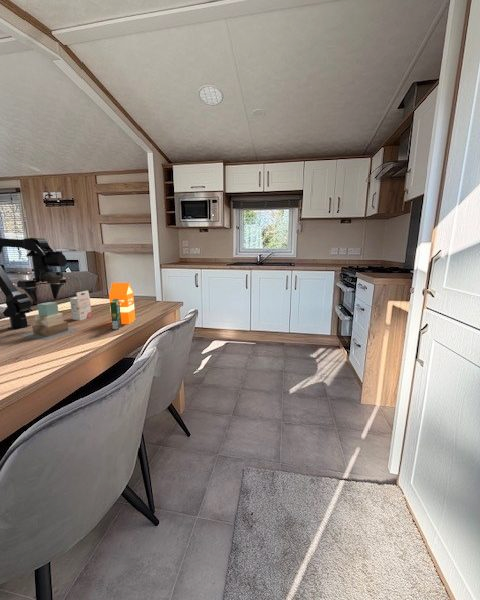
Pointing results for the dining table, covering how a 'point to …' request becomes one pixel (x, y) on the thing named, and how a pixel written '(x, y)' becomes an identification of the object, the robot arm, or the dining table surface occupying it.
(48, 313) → the sage cube
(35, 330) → the walnut slab
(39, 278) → the robot arm
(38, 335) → the slate mat
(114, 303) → the coffee box
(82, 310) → the ink cartridge box
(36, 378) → the dining table surface
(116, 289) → the orange juice
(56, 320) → the birch block
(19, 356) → the dining table surface
